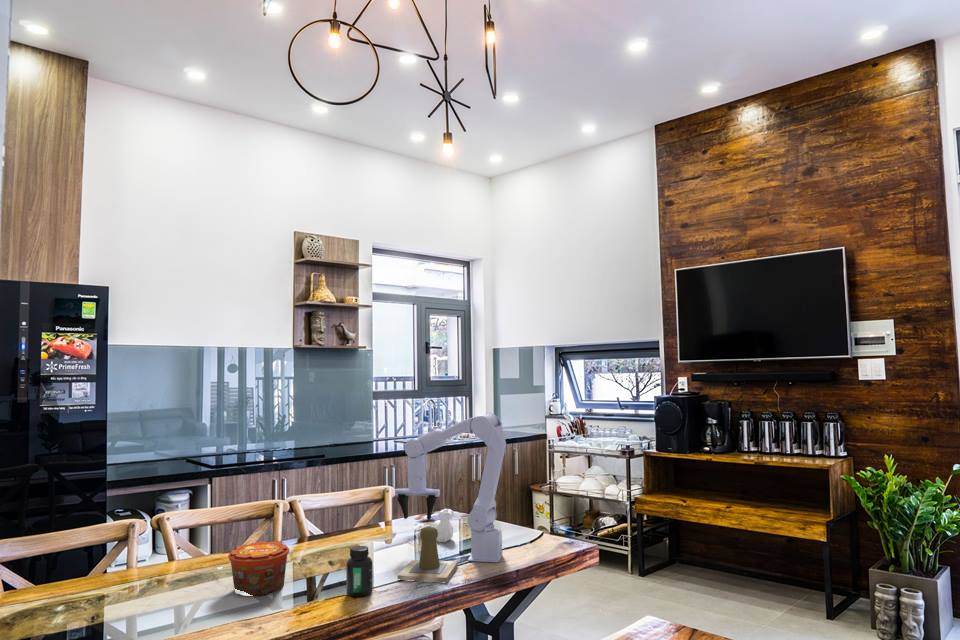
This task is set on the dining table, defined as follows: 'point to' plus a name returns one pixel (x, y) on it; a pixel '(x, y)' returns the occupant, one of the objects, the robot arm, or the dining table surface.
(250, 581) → the food container
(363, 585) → the supplement bottle
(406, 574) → the base board
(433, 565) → the cork
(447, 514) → the bust
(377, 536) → the dining table surface
